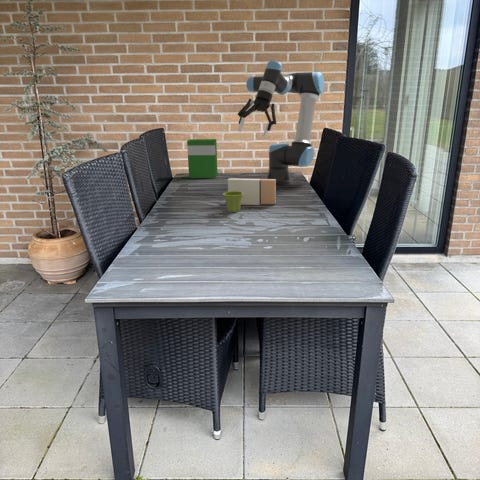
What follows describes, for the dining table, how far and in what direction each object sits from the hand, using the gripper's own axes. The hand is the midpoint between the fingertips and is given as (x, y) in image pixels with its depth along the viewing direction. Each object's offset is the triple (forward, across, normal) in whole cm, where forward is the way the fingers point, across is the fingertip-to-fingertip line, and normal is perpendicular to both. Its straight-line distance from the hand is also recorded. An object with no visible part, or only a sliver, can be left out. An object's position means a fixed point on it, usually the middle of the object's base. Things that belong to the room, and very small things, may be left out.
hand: (251, 133), depth 219 cm
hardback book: (+19, -49, +60) cm, 79 cm away
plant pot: (+39, +5, -3) cm, 40 cm away
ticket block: (+33, +4, +10) cm, 34 cm away
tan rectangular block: (+29, +16, +12) cm, 35 cm away
